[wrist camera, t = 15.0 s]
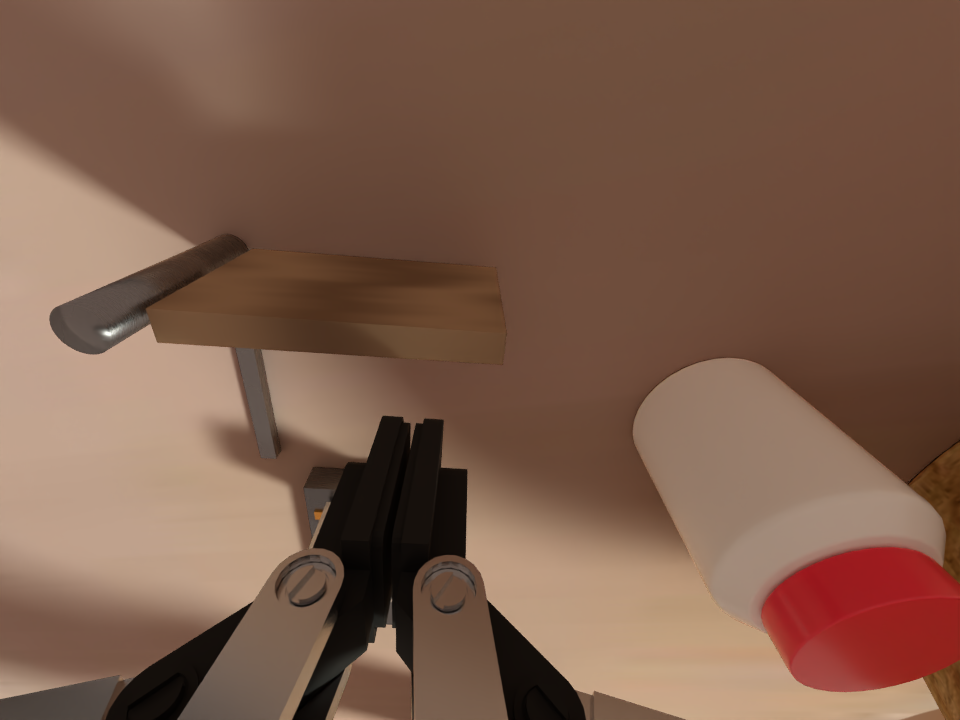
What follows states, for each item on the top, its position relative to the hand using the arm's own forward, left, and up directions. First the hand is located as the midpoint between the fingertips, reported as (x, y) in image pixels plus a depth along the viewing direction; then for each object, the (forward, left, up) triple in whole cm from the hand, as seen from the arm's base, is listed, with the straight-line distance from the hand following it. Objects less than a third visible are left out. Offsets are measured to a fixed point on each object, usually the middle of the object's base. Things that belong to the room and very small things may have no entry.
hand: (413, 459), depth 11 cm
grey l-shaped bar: (-2, +9, -9) cm, 12 cm away
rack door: (+3, +2, -8) cm, 8 cm away
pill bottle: (-4, -14, -9) cm, 17 cm away
